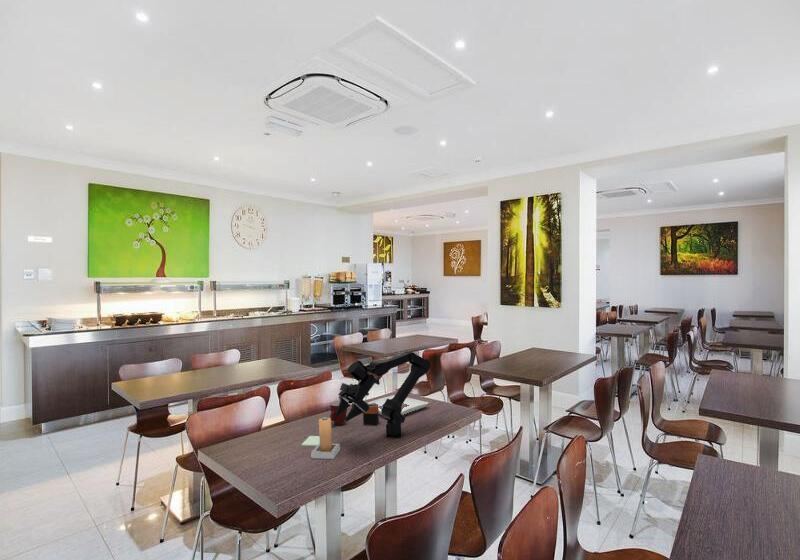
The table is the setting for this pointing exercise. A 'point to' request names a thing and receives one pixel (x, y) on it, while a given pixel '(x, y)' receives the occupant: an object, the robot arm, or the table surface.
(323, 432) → the plug
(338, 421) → the mug
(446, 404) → the table surface
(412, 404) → the square plate
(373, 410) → the battery
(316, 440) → the mat
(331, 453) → the frame
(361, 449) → the table surface
